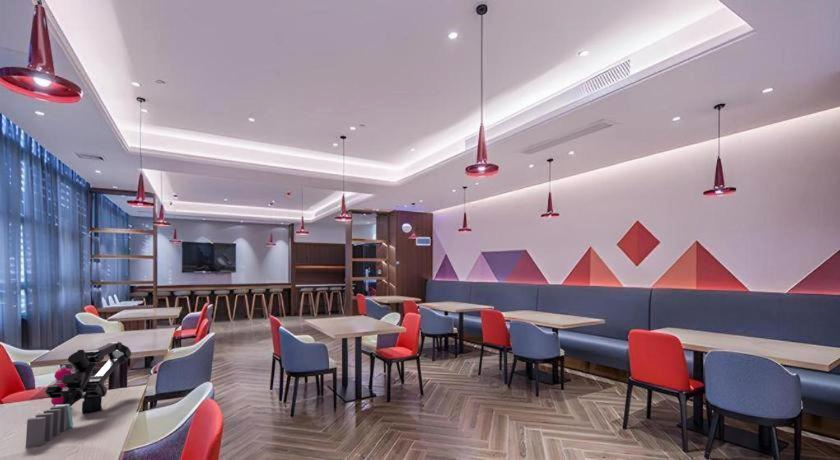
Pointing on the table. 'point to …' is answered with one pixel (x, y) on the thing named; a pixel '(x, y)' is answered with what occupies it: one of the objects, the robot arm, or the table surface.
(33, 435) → the domino
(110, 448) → the table surface
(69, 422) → the domino
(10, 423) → the table surface
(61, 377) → the pepper mill
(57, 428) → the domino
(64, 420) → the domino
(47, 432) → the domino
